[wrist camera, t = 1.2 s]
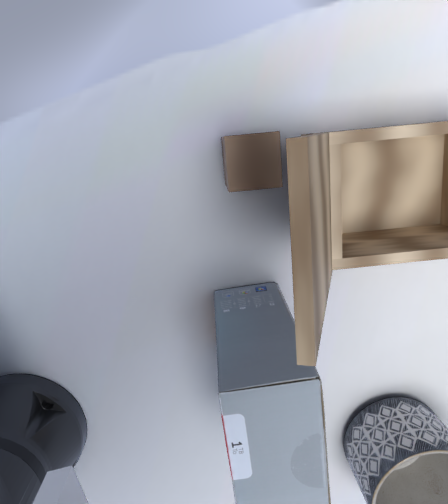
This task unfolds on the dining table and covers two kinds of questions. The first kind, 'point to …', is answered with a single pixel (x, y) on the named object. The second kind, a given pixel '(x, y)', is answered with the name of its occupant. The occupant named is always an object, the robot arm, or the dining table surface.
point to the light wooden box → (389, 194)
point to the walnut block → (252, 161)
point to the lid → (309, 238)
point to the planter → (399, 453)
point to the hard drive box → (268, 401)
